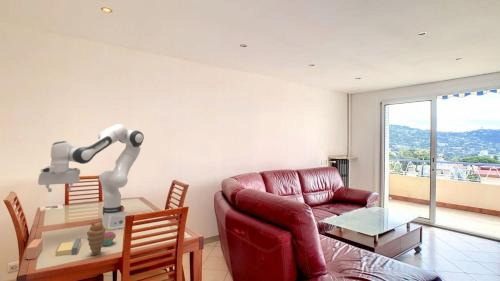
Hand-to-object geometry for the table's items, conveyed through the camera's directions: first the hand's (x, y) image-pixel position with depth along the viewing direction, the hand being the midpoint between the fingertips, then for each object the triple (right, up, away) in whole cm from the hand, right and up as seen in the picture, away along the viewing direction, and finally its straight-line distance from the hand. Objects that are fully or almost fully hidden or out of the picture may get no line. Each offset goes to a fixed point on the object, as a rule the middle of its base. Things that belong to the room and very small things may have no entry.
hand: (59, 191), depth 159 cm
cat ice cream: (+31, -32, -15) cm, 47 cm away
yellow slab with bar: (+13, -31, -11) cm, 35 cm away
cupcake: (+30, -32, -1) cm, 43 cm away
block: (0, -30, -18) cm, 35 cm away
